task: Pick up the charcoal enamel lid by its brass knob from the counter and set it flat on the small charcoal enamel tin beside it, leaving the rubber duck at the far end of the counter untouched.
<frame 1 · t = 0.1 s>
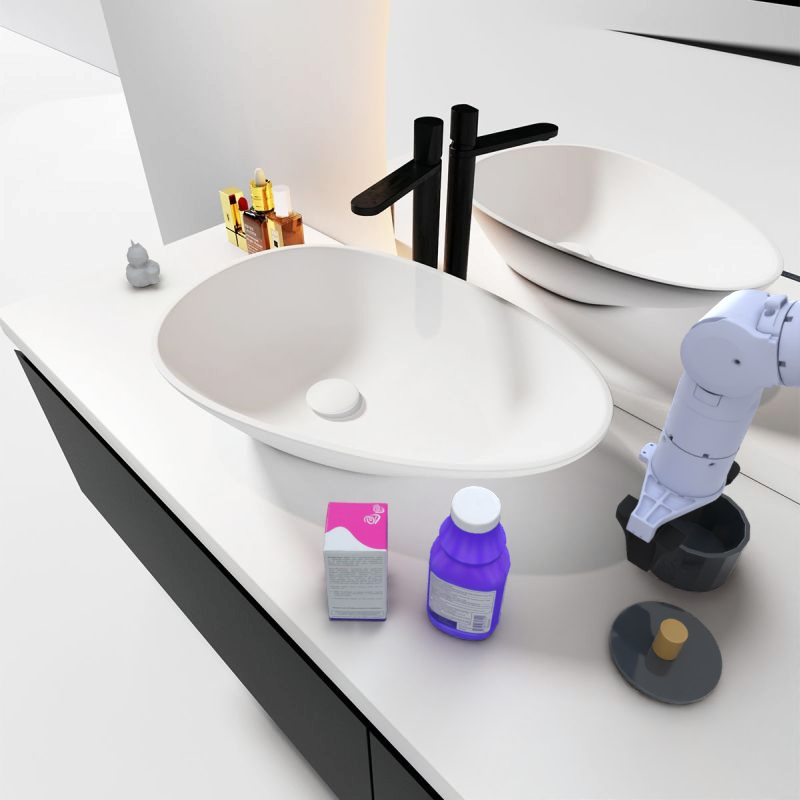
hand: (660, 538, 64), 9 cm above the worktop, tool pointing down, fingers open, 7 cm apart
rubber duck: (147, 285, 114), on the worktop
lid: (664, 651, 65), point 1 cm above the worktop
supplement box: (360, 597, 70), on the worktop
pot: (684, 553, 74), on the worktop
bottle: (463, 617, 69), on the worktop
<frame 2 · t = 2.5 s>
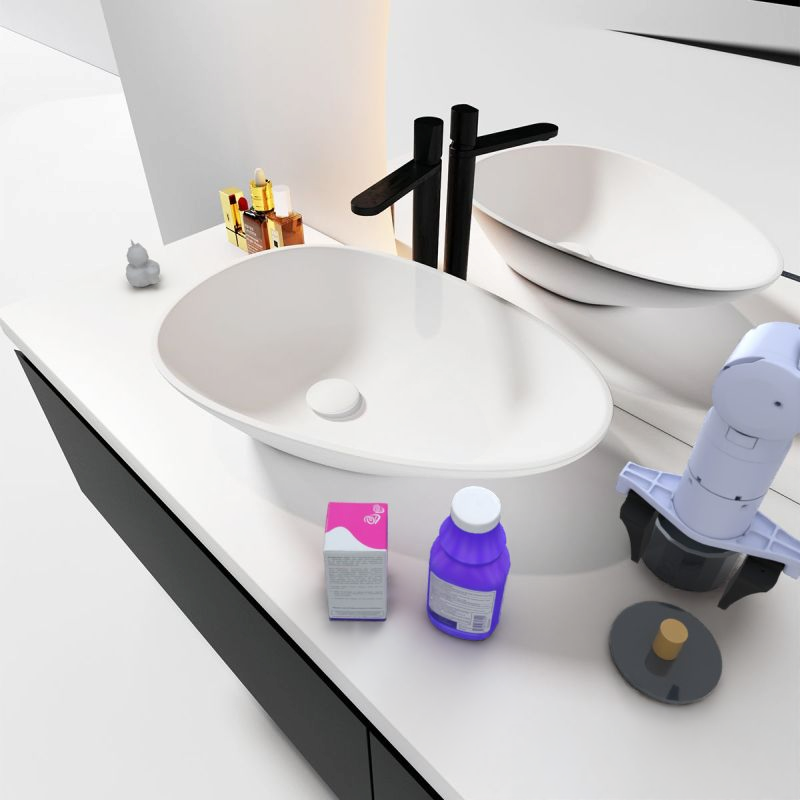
hand: (680, 576, 60), 10 cm above the worktop, tool pointing down, fingers open, 7 cm apart
nothing on the worktop moved.
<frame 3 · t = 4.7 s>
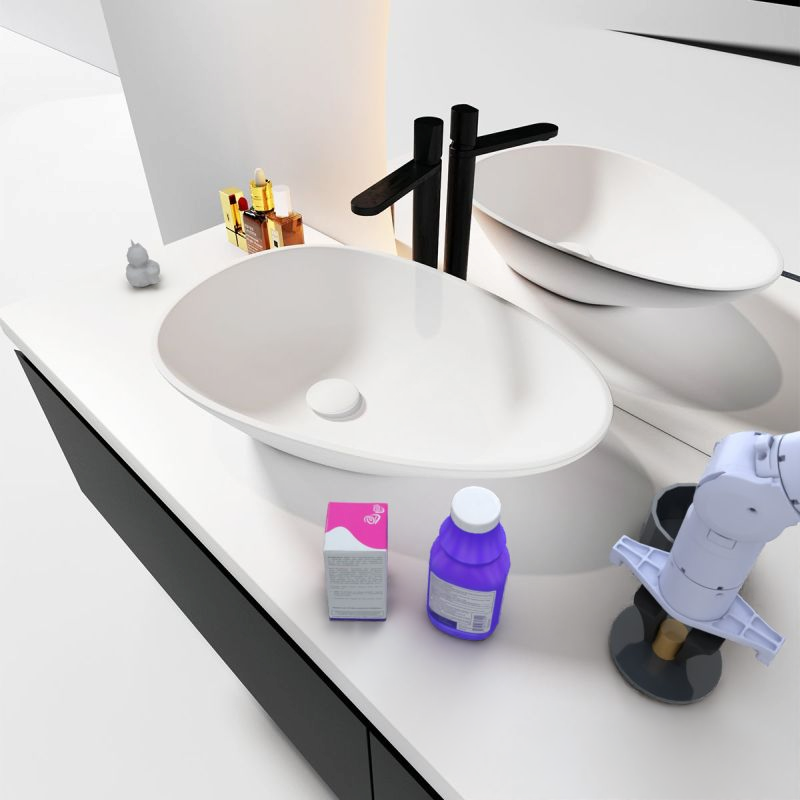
hand: (667, 645, 64), 2 cm above the worktop, tool pointing down, fingers closed on lid, 2 cm apart
lid: (664, 651, 65), point 1 cm above the worktop, touching gripper
everything else where it was.
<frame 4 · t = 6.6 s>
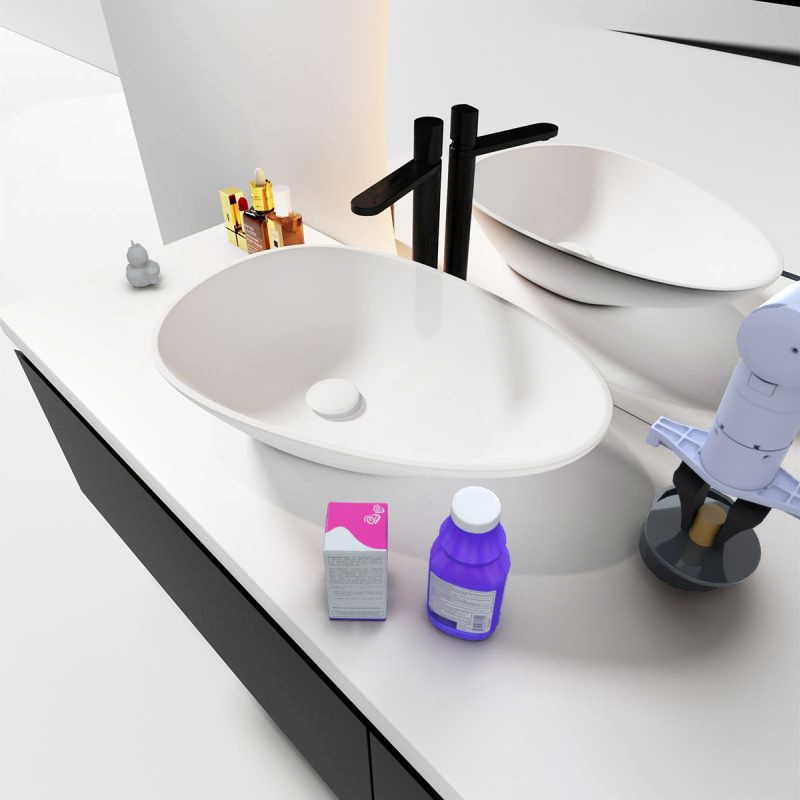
hand: (704, 532, 63), 10 cm above the worktop, tool pointing down, fingers closed on lid, 2 cm apart
lid: (700, 539, 64), point 9 cm above the worktop, touching gripper
everything else where it was.
when the fingers open (7 cm above the worktop, at t = 8.4 s): lid stays where it is, resting on pot.
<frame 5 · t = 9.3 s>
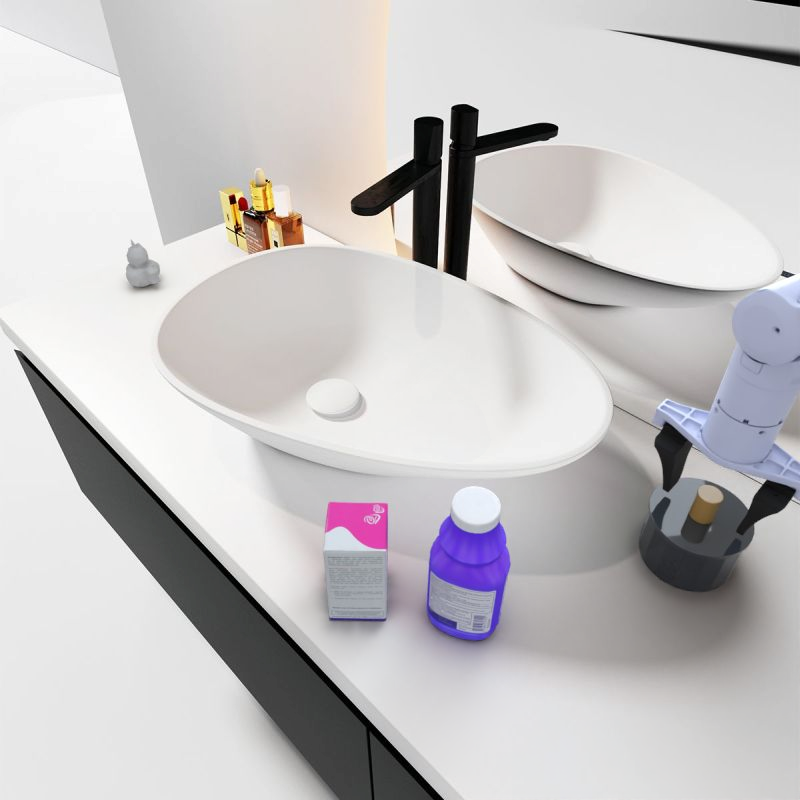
hand: (705, 506, 69), 8 cm above the worktop, tool pointing down, fingers open, 7 cm apart
lid: (699, 518, 70), point 6 cm above the worktop, touching pot
everything else where it was.
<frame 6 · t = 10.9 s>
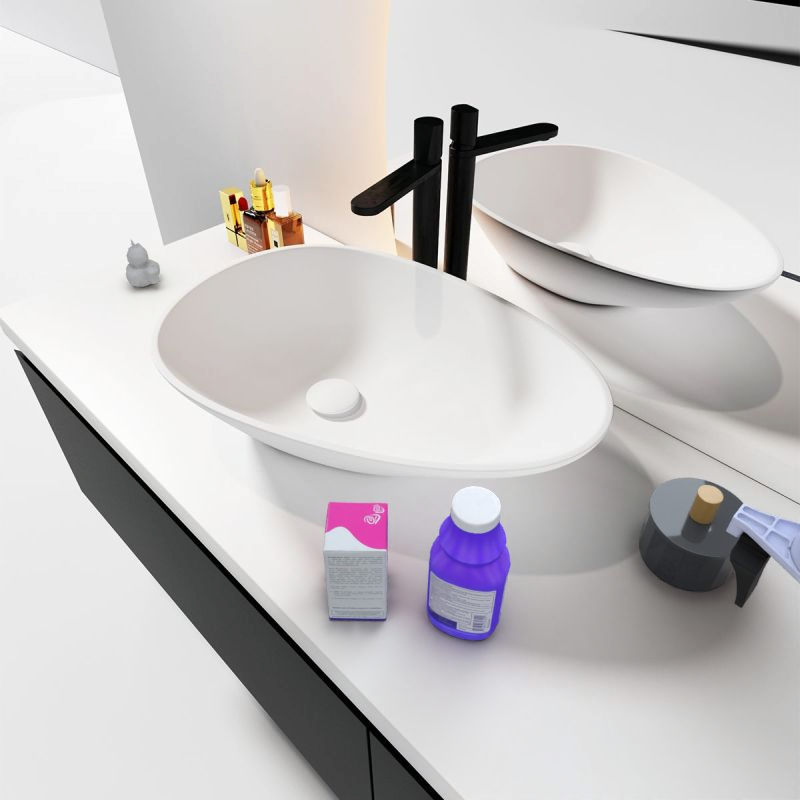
hand: (787, 626, 58), 8 cm above the worktop, tool pointing down, fingers open, 7 cm apart
nothing on the worktop moved.
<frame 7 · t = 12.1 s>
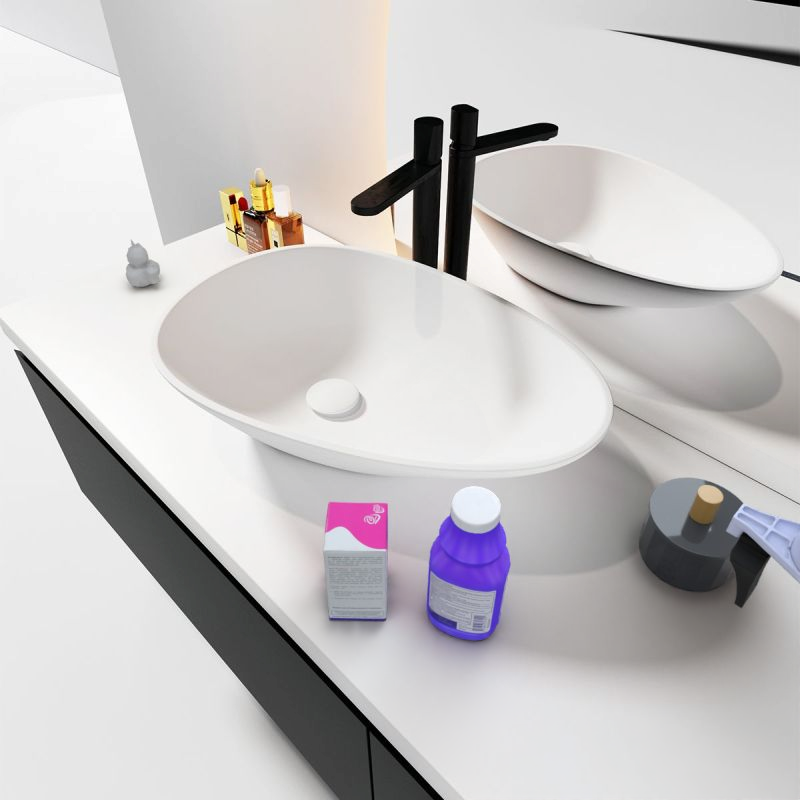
hand: (787, 626, 58), 8 cm above the worktop, tool pointing down, fingers open, 7 cm apart
nothing on the worktop moved.
at the end: lid 0.0 cm off-centre on the pot, point 5.9 cm above the pot's base; lid tilted 0°; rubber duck moved 0.2 cm from its start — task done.
